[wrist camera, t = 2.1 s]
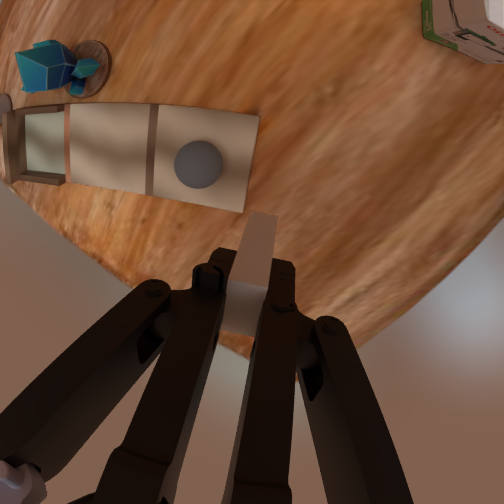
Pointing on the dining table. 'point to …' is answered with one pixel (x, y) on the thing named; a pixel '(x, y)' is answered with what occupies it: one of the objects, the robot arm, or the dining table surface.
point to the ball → (198, 164)
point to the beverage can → (4, 105)
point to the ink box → (467, 27)
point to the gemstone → (65, 67)
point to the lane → (129, 148)
